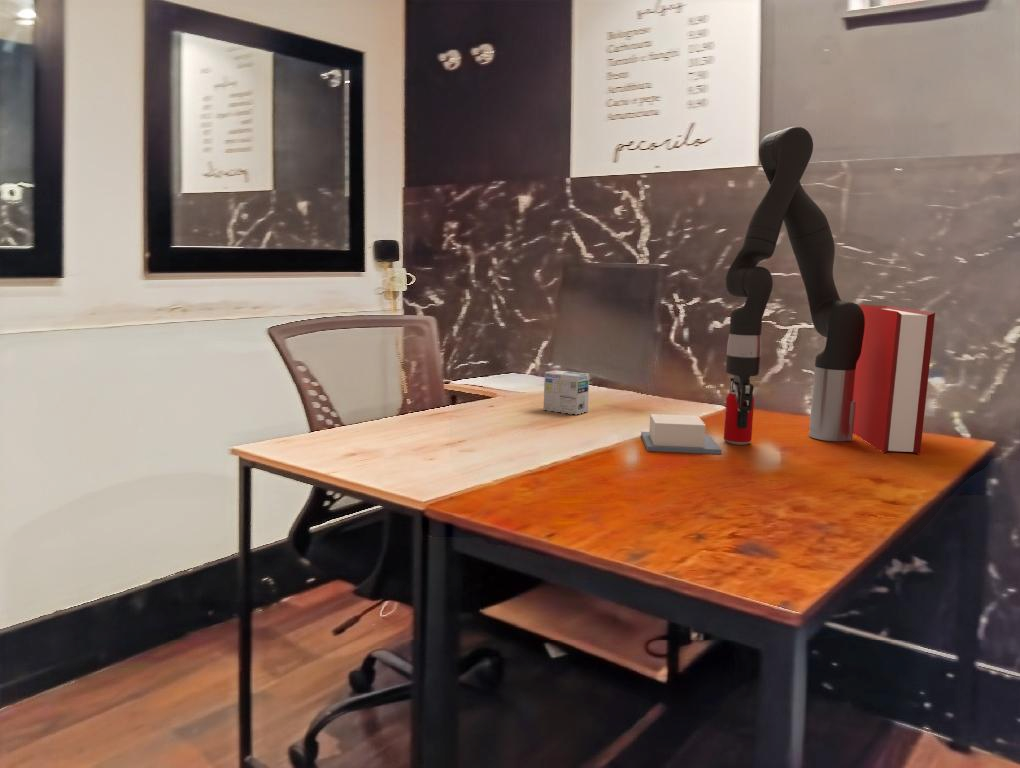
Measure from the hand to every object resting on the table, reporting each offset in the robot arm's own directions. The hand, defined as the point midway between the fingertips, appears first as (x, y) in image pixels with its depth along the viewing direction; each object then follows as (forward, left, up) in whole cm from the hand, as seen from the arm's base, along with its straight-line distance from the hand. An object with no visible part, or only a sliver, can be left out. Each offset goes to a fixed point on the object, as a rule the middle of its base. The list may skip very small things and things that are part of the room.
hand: (738, 424), depth 195 cm
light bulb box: (+40, -31, -5) cm, 51 cm away
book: (-36, -9, -4) cm, 37 cm away
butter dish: (+14, +5, -4) cm, 15 cm away
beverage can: (0, 0, -4) cm, 4 cm away
